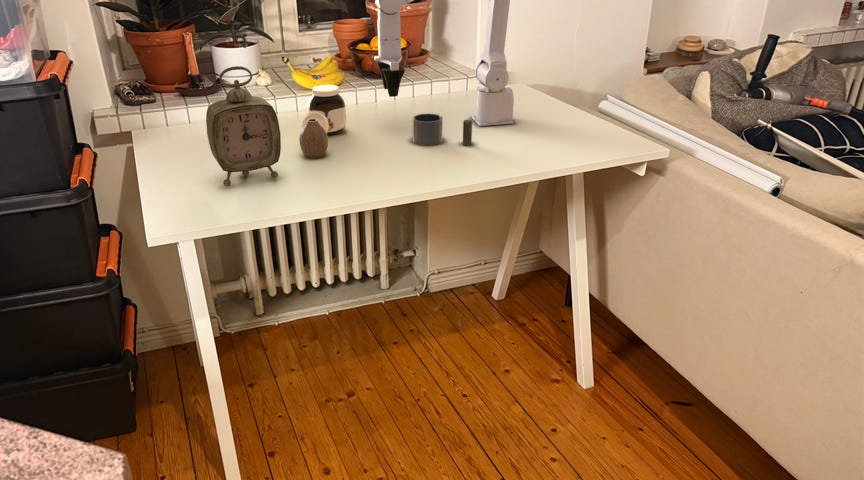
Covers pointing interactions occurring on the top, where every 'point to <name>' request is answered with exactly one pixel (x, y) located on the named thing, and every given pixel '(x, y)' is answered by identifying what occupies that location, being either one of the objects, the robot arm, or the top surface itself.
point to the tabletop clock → (243, 131)
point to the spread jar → (327, 109)
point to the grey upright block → (467, 132)
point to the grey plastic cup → (427, 129)
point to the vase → (313, 139)
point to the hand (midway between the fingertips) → (390, 92)
